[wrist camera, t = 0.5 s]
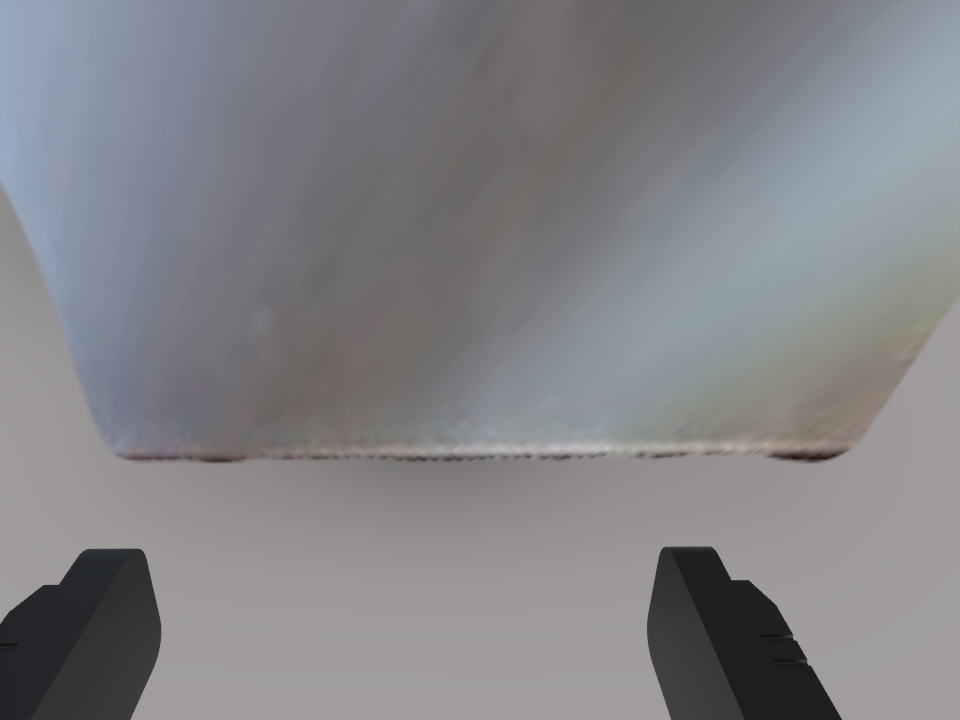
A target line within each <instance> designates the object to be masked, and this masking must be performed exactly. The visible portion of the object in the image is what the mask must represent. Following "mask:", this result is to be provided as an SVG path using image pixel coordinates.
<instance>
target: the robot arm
mask: <svg viewBox="0 0 960 720" xmlns="http://www.w3.org/2000/svg"><path fill="white" fill-rule="evenodd" d="M647 637H648V645H649V651H650V656H651V659H652V663H653V666H654V669H655V672H656V675H657V678H658V681H659V684H660V687H661V690H662V693H663V696H664V699H665V702H666V705H667V708H668V711H669V714H670V717H671V720H842V719H841V717H840V715H839V714H838V712H837V710H836V709H835V707H834V705H833V703H832V702H831V700H830V698H829V696H828V695H827V693H826V692H825V689H824V688H823V686H822V684H821V682H820V681H819V679H818V677H817V675H816V674H815V672H814V670H813V669H812V667H811V666H808V664H807V658H806V656H805V655H804V653H803V651H802V650H801V648H800V646H799V645H798V643H797V641H794V640H793V634H792V632H791V630H790V629H789V627H788V625H787V623H786V622H785V620H784V618H783V617H782V615H781V613H780V611H779V609H778V608H777V606H776V605H775V604H774V603H773V602H772V601H771V600H770V599H768V598H767V597H766V596H765V595H764V594H763V593H762V592H761V591H760V590H759V589H758V588H756V587H755V586H754V585H753V584H752V583H751V582H750V581H749V580H731V578H730V576H729V575H728V573H727V571H726V569H725V567H724V565H723V563H722V561H721V559H720V557H719V555H718V554H717V552H716V551H715V550H714V549H713V548H712V547H664V548H663V549H662V550H661V552H660V555H659V560H658V565H657V570H656V576H655V581H654V586H653V592H652V598H651V603H650V608H649V613H648V621H647ZM160 641H161V622H160V616H159V612H158V608H157V604H156V599H155V594H154V590H153V586H152V581H151V577H150V573H149V568H148V563H147V559H146V556H145V554H144V552H143V551H142V550H141V549H87V550H85V551H83V552H82V553H81V554H80V555H79V556H78V558H77V559H76V561H75V562H74V563H73V565H72V566H71V568H70V569H69V571H68V572H67V574H66V575H65V577H64V578H63V580H62V581H61V582H60V584H59V585H43V586H42V587H41V588H39V589H38V590H37V591H35V592H34V593H33V594H32V595H30V596H29V597H28V598H27V599H25V600H24V601H23V602H21V603H20V604H19V605H18V606H16V607H15V608H14V609H13V610H11V611H10V612H9V613H8V614H7V616H6V617H5V618H4V620H3V621H2V623H1V624H0V720H130V719H131V717H132V715H133V712H134V710H135V708H136V706H137V704H138V701H139V699H140V697H141V694H142V692H143V690H144V688H145V686H146V684H147V681H148V679H149V677H150V675H151V673H152V670H153V668H154V666H155V663H156V660H157V657H158V653H159V648H160Z"/></svg>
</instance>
